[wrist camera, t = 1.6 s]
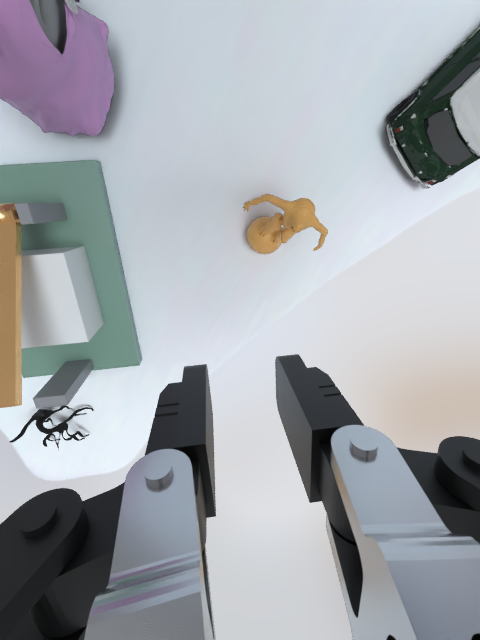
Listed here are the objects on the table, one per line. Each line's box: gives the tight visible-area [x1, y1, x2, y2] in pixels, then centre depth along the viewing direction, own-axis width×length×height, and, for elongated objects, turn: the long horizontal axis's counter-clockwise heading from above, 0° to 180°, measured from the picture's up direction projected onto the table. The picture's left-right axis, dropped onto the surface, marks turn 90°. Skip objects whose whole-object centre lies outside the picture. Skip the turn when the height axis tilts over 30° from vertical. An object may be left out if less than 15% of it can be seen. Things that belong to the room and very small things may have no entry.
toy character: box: [0, 0, 114, 136], centre depth 18 cm, size 12×10×20 cm
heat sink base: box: [0, 160, 142, 408], centre depth 30 cm, size 23×14×9 cm, turn 4°
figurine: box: [243, 194, 328, 254], centre depth 29 cm, size 8×6×12 cm
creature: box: [10, 405, 93, 449], centre depth 39 cm, size 8×5×8 cm
